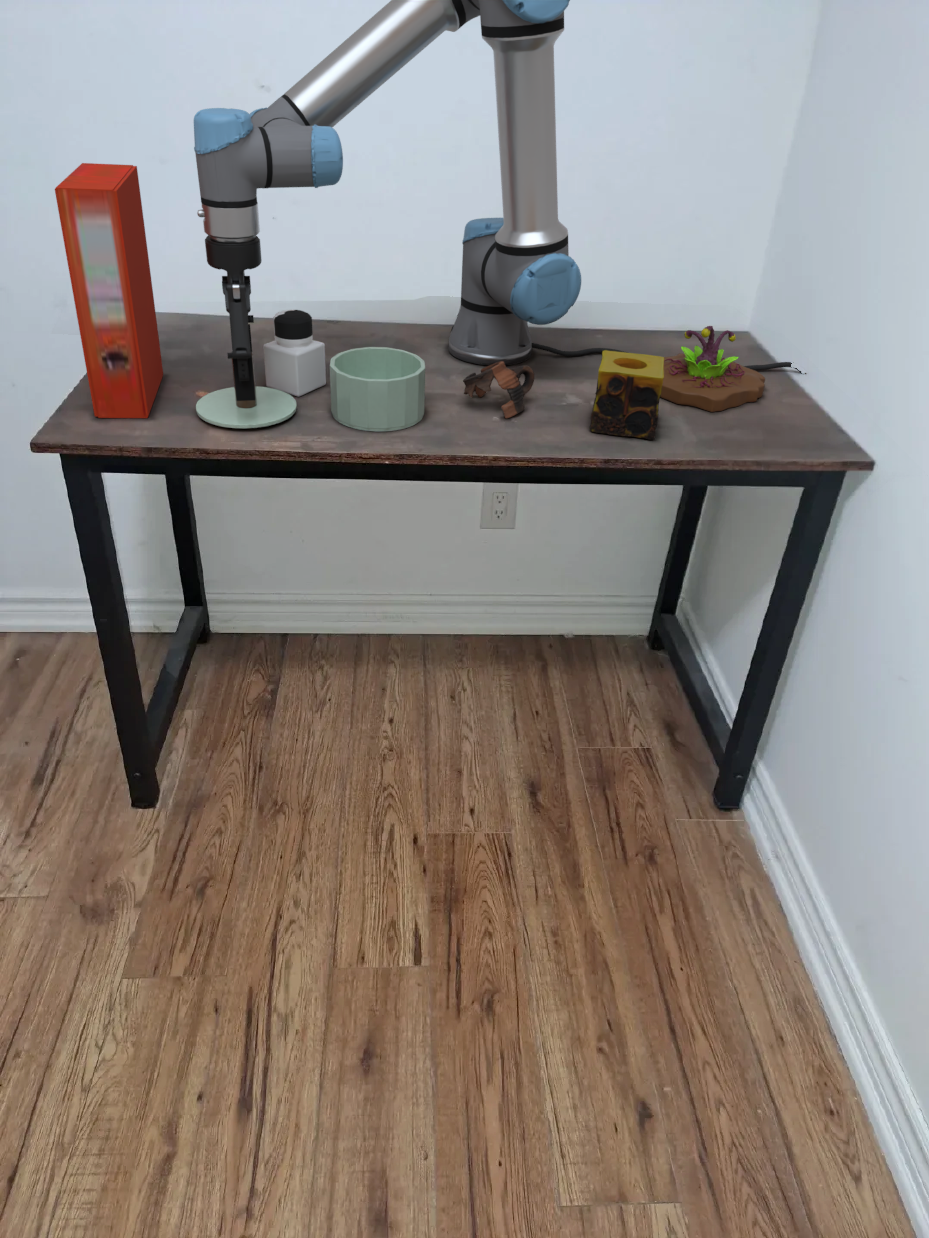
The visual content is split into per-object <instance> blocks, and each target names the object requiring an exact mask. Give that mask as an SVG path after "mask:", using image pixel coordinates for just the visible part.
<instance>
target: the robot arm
mask: <svg viewBox="0 0 929 1238" xmlns="http://www.w3.org/2000/svg"><path fill="white" fill-rule="evenodd" d="M570 1H571V0H390V1H389V2H388V3H386V4H385V5H384V6H383V7H382V8H381V9H380V10H379V11H376V13H375V14H374V15H373V16H371V17H370V18H369V19H367V21H366V22H365V23H363V24H362V25H361V26H360V27H358V28H357V29H356V30H355V31H354V32H353V33H352V34H351V35H350V36H348V38H346V39H345V40H344V41H343V42H342V43H340V44H339V45H338V46H337V47H336V48H335V49H334V50H333V51H332V52H331V53H329V54H328V55H327V56H326V57H324V58H323V59H322V60H321V61H320V62H318V63H317V64H316V65H315V66H314V67H313V68H312V69H311V70H309V71H308V72H307V73H306V74H305V75H304V76H303V77H302V78H300V79H299V80H298V81H296V83H295V84H293V86H291V87H290V88H289V89H287V91H285V92H284V94H282V95H281V96H279V97H278V98H277V99H275V101H273V102H272V103H270V105H269V106H268V107H261V108H257V109H254V110H252V111H251V112H250V113H249V112H247V111H246V110H243V109H240V108H239V109H238V108H225V107H211V108H203V109H200V110H198V111H197V112H196V113H195V115H194V116H193V138H194V140H193V141H194V146H193V150H194V153H195V162H196V170H197V177H198V187H199V194H200V203H201V208H202V209H198V210H197V213H196V214H197V216H198V218H203V220H202V223H203V232H204V233H205V234H206V235H207V236H206V237H205V238H204V245H205V253H206V255H205V256H206V263H207V264H208V265H209V266H210V267H211V268H213V269H216V270H220V271H221V270H223V271H224V272H226V275H221V287H222V288H221V289H222V293H223V295H224V302H225V304H224V305H225V310H226V312H227V313H228V314H229V326H230V337H231V349H232V351H231V352H227V353H226V355H227V359H228V360H229V359H230V360H232V359H233V369H234V379H235V390H236V400H237V401H252V400H255V388H254V376H253V364H252V353H253V343H252V332H251V324H253V323H255V320H254V319H255V318H254V314H249V313H250V312H251V310H252V308H251V294H252V285H251V276H250V275H245V271H246V270H252V269H256V268H258V267H259V266H261V263H262V249H261V248H262V247H261V239H260V238H259V236H258V235H259V234H260V232H261V230H260V229H261V228H260V217H259V203H258V196H257V194H258V191H257V190H258V189H279V188H280V189H281V188H282V189H284V188H286V189H287V188H288V189H289V188H314V189H318V188H320V187H327V186H335V185H337V184H338V183H339V182H340V180H341V178H342V174H343V171H344V170H343V169H344V153H343V146H342V142H341V138H340V136H339V133H338V132H337V130H336V129H335V128H334V127H335V126H336V125H337V124H339V122H341V121H343V119H344V118H345V117H347V116H348V115H349V114H350V113H351V112H352V111H354V110H355V109H356V108H357V107H358V106H360V105H361V104H362V103H363V102H364V101H365V100H366V99H367V98H369V97H370V96H371V95H372V94H373V93H374V92H376V91H377V90H378V89H379V88H380V87H381V86H382V85H384V84H385V83H386V82H388V81H389V79H390V78H392V77H393V76H394V75H395V74H397V73H398V72H399V71H400V70H402V68H404V67H405V66H406V65H407V64H408V63H410V62H411V61H412V60H413V59H414V58H415V57H416V56H418V54H420V53H421V52H422V51H423V50H424V49H426V48H427V47H428V46H429V45H430V44H431V43H433V42H435V40H436V39H437V38H439V37H440V36H441V35H442V34H443V33H444V32H446V31H447V32H451V33H455V32H457V31H459V29H461V28H462V27H463V26H465V24H467V23H468V22H470V21H471V20H473V19H475V18H478V17H480V18H479V19H480V32H481V39H482V40H483V41H484V42H485V43H486V44H487V45H488V46H490V48H491V49H492V54H493V69H494V85H495V102H496V119H497V134H498V137H497V138H498V152H499V153H498V154H499V167H500V184H501V200H502V202H501V203H502V217H482V218H475V219H471V220H469V221H468V222H467V223H466V224H465V226H464V231H463V239H462V259H461V260H462V262H461V287H460V288H461V289H460V306H459V310H458V313H457V316H456V319H455V321H454V324H453V325H452V327H451V330H450V332H449V333H450V334H449V337H448V352H449V353H450V355H452V356H453V357H455V358H457V359H458V360H461V361H463V362H466V363H470V364H474V365H481V366H490V365H492V364H494V363H497V362H500V361H504V363H505V366H511V365H517V364H521V363H523V362H525V361H527V360H528V359H530V358H531V357H532V350H533V349H536V350H541V351H545V352H549V353H551V354H555V355H558V356H562V357H579V356H585V355H591V354H602V352H603V351H604V350H607V351H615V352H626V353H629V352H628V351H623V350H620V349H614V348H608V347H593V348H586V349H585V348H584V349H580V350H563V349H562V350H561V349H558V348H555V347H552V346H549V345H544V344H541V343H536V342H533V341H532V337H531V333H530V329H529V325H528V323H529V324H532V325H536V326H543V325H544V326H545V325H549V324H552V323H555V322H557V321H558V320H561V319H562V318H564V316H566V315H567V314H568V312H569V311H570V309H571V308H572V307H573V306H574V305H575V303H576V301H577V300H578V298H579V295H580V293H581V288H582V273H581V270H580V267H579V266H578V264H577V263H576V261H575V259H573V258H572V257H571V256H570V255H569V253H570V252H569V230H568V229H569V228H567V227H566V226H565V225H564V224H563V223H561V221H560V219H559V202H558V200H559V199H558V171H557V170H558V167H557V166H558V163H557V161H558V159H557V123H556V121H557V119H556V84H555V83H556V82H555V77H556V76H555V44H556V42H557V41H558V39H559V37H560V36H561V35H562V34H563V32H564V31H565V10H567V8H568V6H569V5H570ZM251 352H252V353H251ZM791 362H792V361H783V362H782V361H779V362H773V363H767V364H753V365H743V366H744V367H746V368H749V369H752V370H755V371H767V370H774V369H779V368H781V369H782V368H791V369H793V368H792V367H791V364H792V363H791ZM233 369H232V370H233ZM794 370H797V372H799V374H802V373H801V372H800V371H799V370H798V369H797V368H794ZM802 375H803V374H802Z"/></svg>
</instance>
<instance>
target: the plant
mask: <svg viewBox="0 0 929 1238" xmlns="http://www.w3.org/2000/svg"><path fill="white" fill-rule="evenodd" d="M693 335H694V336H695V337H696V338H697V339H698V341H699V342H700V344H701V346H702V348H701V347H700V346H699V345H697V344H696V345H694V348H693V349H694V351H692V349H690V348H689V347H687V346H683V345H682V346H680V349H681V351H682V352H683V353H682V352H681V353H680V352H679V353H677V355H670V356H663V357H664V367H663V370H664V378H663V385H662V390H661V397H660V399H664V400H666V401H669V402H672V403H674V404H677V405H682V406H690V407H695V408H698V409H701V410H703V411H707V412H710V413H714V412H723V411H725V410H727V409H731V408H737V407H740V406H742V405H743V404H746V403H756V402H757V401H758V399H759V398H762V397H763V394H764V390H765V386H766V384H765V382H766V377H765V376H764V375H763V374H761V373H760V372H759V371H758V370H752V369H749V368H746V367H744V366H745V365H741V364H740V363H738V362H736V360H738V359H739V356H729V357H726V358H725V357H723V356H724V353H725V352H724V351H725V350H724V349H723V348H720V345H721V342H722V340H723V339H724V337H725V336H726V335H728V336H727V338H728V341H729V342H731V343H733V342H735V341H736V339H737V337H736V334H735V333H734V332H733V331H730V330H728V329H726V330H724V331H723V332H722V333H720V334H719V335H718V337H716V340H715V329H714V326H713V325H707V326H705V327H704V328H703V329H702V330H701V333H699V332H697V331H695V330H692V329H688V330H686V331H685V332H684V335H683V336H684V338H685V340H686V339H687V340H689V339H692V337H693ZM705 338H708V339H707V341H706V340H705Z"/></svg>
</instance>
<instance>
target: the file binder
mask: <svg viewBox="0 0 929 1238" xmlns="http://www.w3.org/2000/svg"><path fill="white" fill-rule="evenodd" d="M140 187H141V186H140V180H139V171H138V166H137V165H133V164H116V163H93V162H92V163H91V162H81V164H79V165H78V166H77V167H76V168H75V169H73V171H72V172H70V174H68V176H66V177H65V178H64V179H63V180H62V181H61V182H60V183H59V184H57V186H56V187H55V188H54V193H55V194H54V195H55V199H56V205H57V211H58V216H59V222H60V227H61V234H62V239H63V244H64V250H65V251H64V252H65V256H66V262H67V268H68V273H69V279H70V285H71V290H72V295H73V301H74V307H75V311H76V312H75V313H76V319H77V324H78V330H79V336H80V341H81V346H82V352H83V353H82V354H83V357H84V363H85V370H86V373H87V380H88V381H87V382H88V387H89V392H90V398H91V404H92V409H93V414H94V417H96V418H98V419H149V416H150V414H151V410H152V407H153V405H154V403H155V399H156V396H157V394H158V390H159V387H160V385H161V383H162V380H163V377H164V368H163V359H162V351H161V346H160V345H161V344H160V336H159V329H158V321H157V314H156V307H155V305H156V304H155V297H154V291H153V282H152V275H151V267H150V259H149V251H148V243H147V235H146V227H145V219H144V212H143V211H144V210H143V204H142V203H143V202H142V197H141V188H140Z"/></svg>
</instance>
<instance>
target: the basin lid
mask: <svg viewBox="0 0 929 1238" xmlns="http://www.w3.org/2000/svg"><path fill="white" fill-rule="evenodd" d="M251 353H252V364H253V376H254V388H255V400H252V401H237V400H236V390H235V379H234V369H233V359H231V367H232V368H231V369H232V377H233V379H232V380H233V386H231V387H226V388H225V387H224V388H220V389H217V390H214V391H211V392H209V393H207V394H205V395H203V396H202V397H200V398H199V399H198V401H197V402H196V404H195V412H196V415H197V416H198V417H199V418H200V419H201V420H203V421H205V422H206V423H208V424H210V425H215V426H218V427H222V428H232V429H257V428H265V427H269V426H274V425H276V424H280V423H282V422H284V421H286V420H289V419H290V418H291V417H293V415H294V414H295V413H296V412H297V407H298V406H297V405H298V403H297V401H296V399H295V398H294V397H293V395H291V394H288V393H285V392H283V391H280V390H277V389H273V388H269V387H267V386H256V385H257V384H256V373H255V361H254V360H255V359H254V353H253V351H252V352H251Z"/></svg>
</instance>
